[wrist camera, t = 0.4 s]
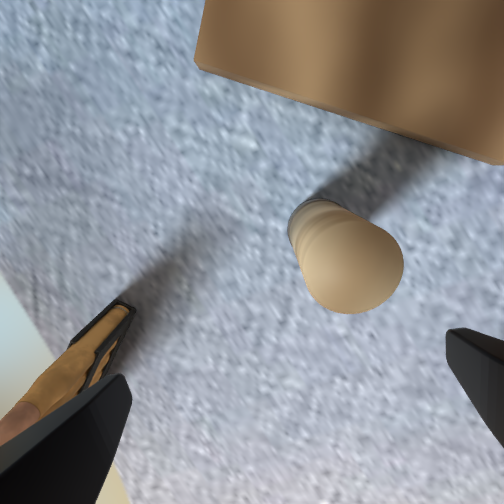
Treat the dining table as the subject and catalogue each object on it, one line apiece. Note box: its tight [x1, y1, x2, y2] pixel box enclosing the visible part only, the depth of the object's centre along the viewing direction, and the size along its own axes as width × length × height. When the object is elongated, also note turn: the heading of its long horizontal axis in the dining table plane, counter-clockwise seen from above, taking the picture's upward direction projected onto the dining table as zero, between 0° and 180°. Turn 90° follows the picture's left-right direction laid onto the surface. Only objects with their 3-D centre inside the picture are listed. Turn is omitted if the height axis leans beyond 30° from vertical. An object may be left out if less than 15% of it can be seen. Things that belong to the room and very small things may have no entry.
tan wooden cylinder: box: [287, 198, 404, 314], centre depth 15 cm, size 4×4×8 cm
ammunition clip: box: [0, 299, 136, 446], centre depth 17 cm, size 11×2×12 cm, turn 151°
